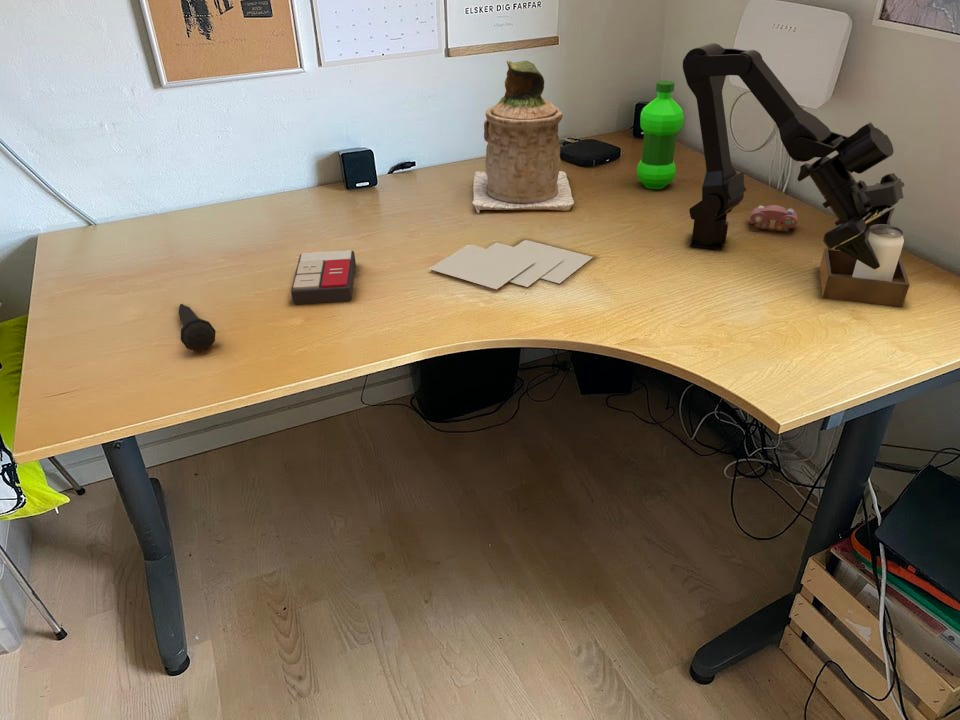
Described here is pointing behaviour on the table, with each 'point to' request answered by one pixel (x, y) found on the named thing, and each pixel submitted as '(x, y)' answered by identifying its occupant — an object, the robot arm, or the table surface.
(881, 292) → the tray
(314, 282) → the calculator
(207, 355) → the table surface
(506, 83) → the cookie jar
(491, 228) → the table surface
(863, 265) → the can
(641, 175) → the plastic bottle
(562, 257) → the paper stack
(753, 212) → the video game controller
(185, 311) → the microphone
